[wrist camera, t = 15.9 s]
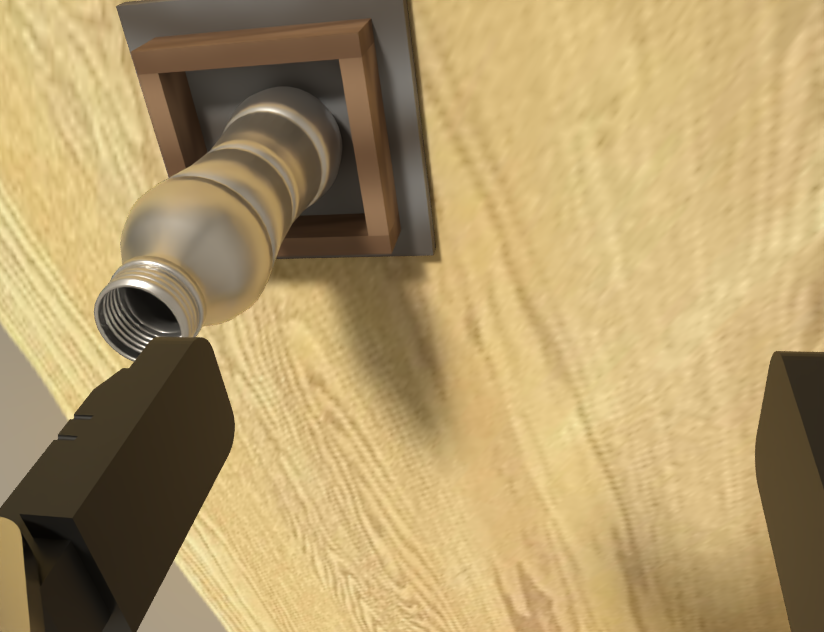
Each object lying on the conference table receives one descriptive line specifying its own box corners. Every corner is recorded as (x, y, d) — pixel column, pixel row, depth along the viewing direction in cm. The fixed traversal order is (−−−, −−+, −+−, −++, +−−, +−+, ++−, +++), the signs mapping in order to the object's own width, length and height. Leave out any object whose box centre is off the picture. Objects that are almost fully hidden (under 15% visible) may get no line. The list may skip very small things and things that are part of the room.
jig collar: (124, 2, 44) (88, 19, 41) (403, -26, 40) (388, -10, 37) (200, 253, 52) (175, 284, 49) (435, 247, 49) (425, 280, 46)
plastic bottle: (246, 179, 48) (74, 384, 31) (239, 67, 44) (39, 234, 27) (350, 193, 47) (229, 410, 30) (352, 80, 43) (215, 259, 27)
